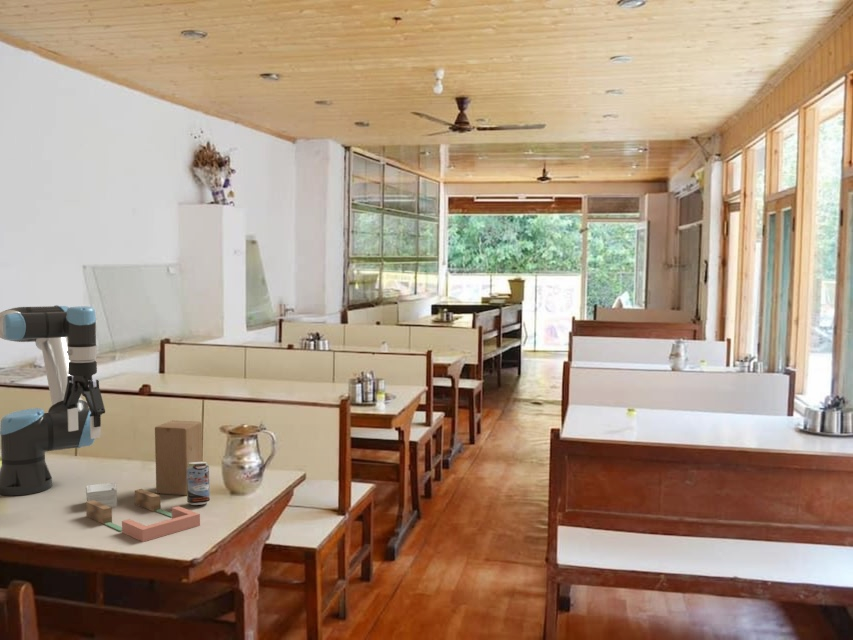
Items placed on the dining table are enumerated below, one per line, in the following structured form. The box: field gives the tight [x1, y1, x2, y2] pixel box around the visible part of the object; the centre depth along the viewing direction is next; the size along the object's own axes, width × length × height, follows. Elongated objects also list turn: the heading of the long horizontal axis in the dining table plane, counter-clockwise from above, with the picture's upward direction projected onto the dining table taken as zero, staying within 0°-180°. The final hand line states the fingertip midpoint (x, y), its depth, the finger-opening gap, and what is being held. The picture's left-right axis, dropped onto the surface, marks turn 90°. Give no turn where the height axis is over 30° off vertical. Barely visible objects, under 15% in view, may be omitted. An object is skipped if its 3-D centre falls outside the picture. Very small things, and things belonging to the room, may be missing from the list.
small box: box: [85, 482, 118, 508], centre depth 222 cm, size 8×8×5 cm
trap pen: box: [121, 506, 201, 543], centre depth 201 cm, size 10×16×3 cm, turn 139°
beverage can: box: [186, 461, 211, 506], centre depth 222 cm, size 6×7×12 cm
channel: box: [85, 488, 162, 526], centre depth 214 cm, size 10×16×4 cm, turn 139°
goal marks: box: [105, 508, 172, 533], centre depth 208 cm, size 8×16×1 cm, turn 139°
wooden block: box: [154, 419, 203, 496], centre depth 235 cm, size 10×10×20 cm
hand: (84, 434), depth 227 cm, fingers open, 13 cm apart
